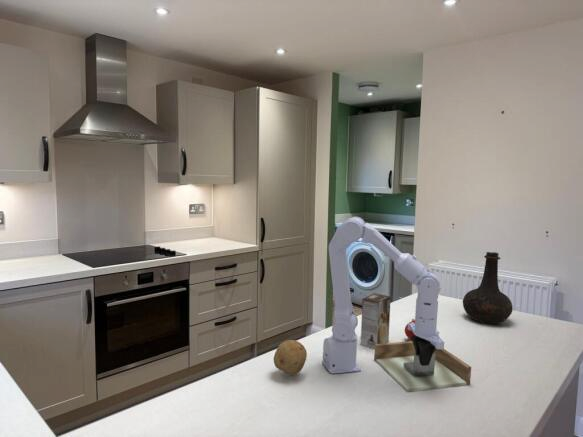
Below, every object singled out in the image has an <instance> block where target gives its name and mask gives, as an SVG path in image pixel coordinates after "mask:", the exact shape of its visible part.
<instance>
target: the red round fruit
mask: <svg viewBox="0 0 583 437" xmlns="http://www.w3.org/2000/svg"><path fill="white" fill-rule="evenodd" d="M408 323H415V318H412V319H411V321H409V322H408ZM408 323H407V324H406V325H405V327H404V333H405V336H406V337H407V338H408V340H409V341H412V340H411V336H415V334H414V333H413V331H412V330H408Z"/></svg>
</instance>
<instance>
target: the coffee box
mask: <svg viewBox="0 0 583 437" xmlns="http://www.w3.org/2000/svg"><path fill="white" fill-rule="evenodd" d="M391 297H392V296H390V295H386V294H381V293H380V294H379V293H374V292H373V293H372V294H369V295H367V296H366V297H363V298H361V299H362V301H361V303H362V304H361V324H360V325H361V327H360V345H361V346H363V345H364V347H368V348H370V347H371V349H374V350H375V344H384V343H389V340H390V337H389V336H390V318H391V315H390V314H391Z"/></svg>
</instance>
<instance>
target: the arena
mask: <svg viewBox="0 0 583 437" xmlns="http://www.w3.org/2000/svg"><path fill="white" fill-rule="evenodd" d="M434 353H435V354H436V356H435V368H434V375H428V376H416V377H415V376H414V375H413V374H411V373H410V372H409V371H408V370H407V369H406V368H404V363H408V362H414V354H416V351H415V347H414V344H413V342H412V341H411V340H409V341H398V342H387V343H384V344H375V349H374V360H373V361H375V362H376V363H377V364H378V365H379V366H380V367H381V368H382V369H383V370H384V371H385V372H386V373H387V374H388V375H389V376H390V377H391V378H392V379H393V380H394V381H395V382H397V383H398V385H399V386H401V388H402V389H404V390H405V391H406V392H407V393H412V392H420V391H427V390H436V389H444V388H452V387H454V388H455V387H461V386H469V385H471V375H472V366H470V365H469V364H467V363H466V362H464V360H461V359H460V358H458V356H455V355H454V354H453V353H451V352H449V351H448V350H446V349H445V348H444V349H436V350H435V351H434Z"/></svg>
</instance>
